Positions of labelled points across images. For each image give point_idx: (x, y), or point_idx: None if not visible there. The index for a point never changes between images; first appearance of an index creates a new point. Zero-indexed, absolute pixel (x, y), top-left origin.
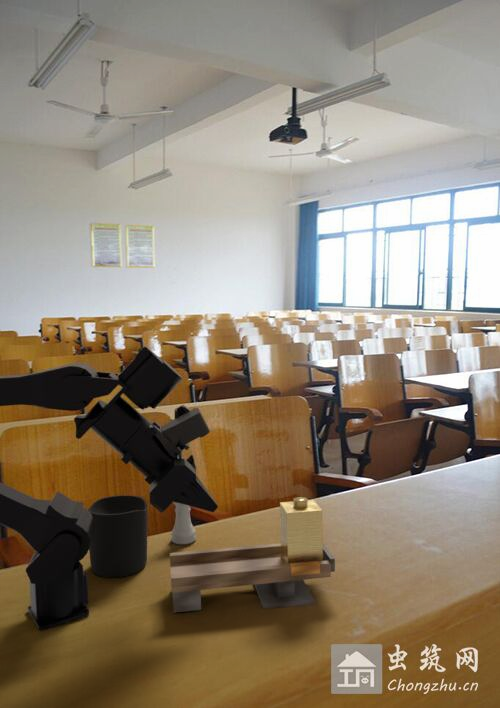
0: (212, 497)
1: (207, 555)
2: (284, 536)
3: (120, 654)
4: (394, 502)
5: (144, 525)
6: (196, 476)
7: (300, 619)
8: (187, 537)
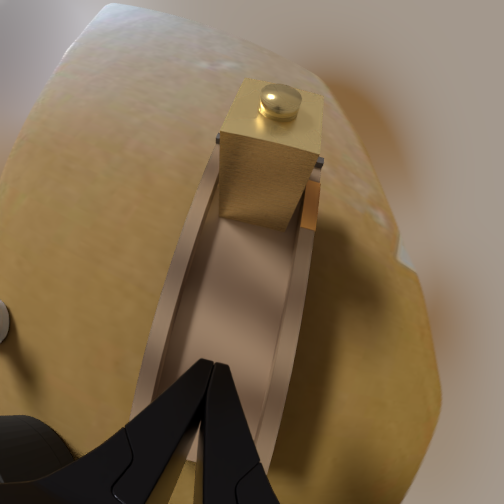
0: (180, 377)
1: (159, 369)
2: (265, 192)
3: None
4: (106, 52)
5: (11, 446)
6: (119, 501)
7: (338, 267)
8: (2, 321)
